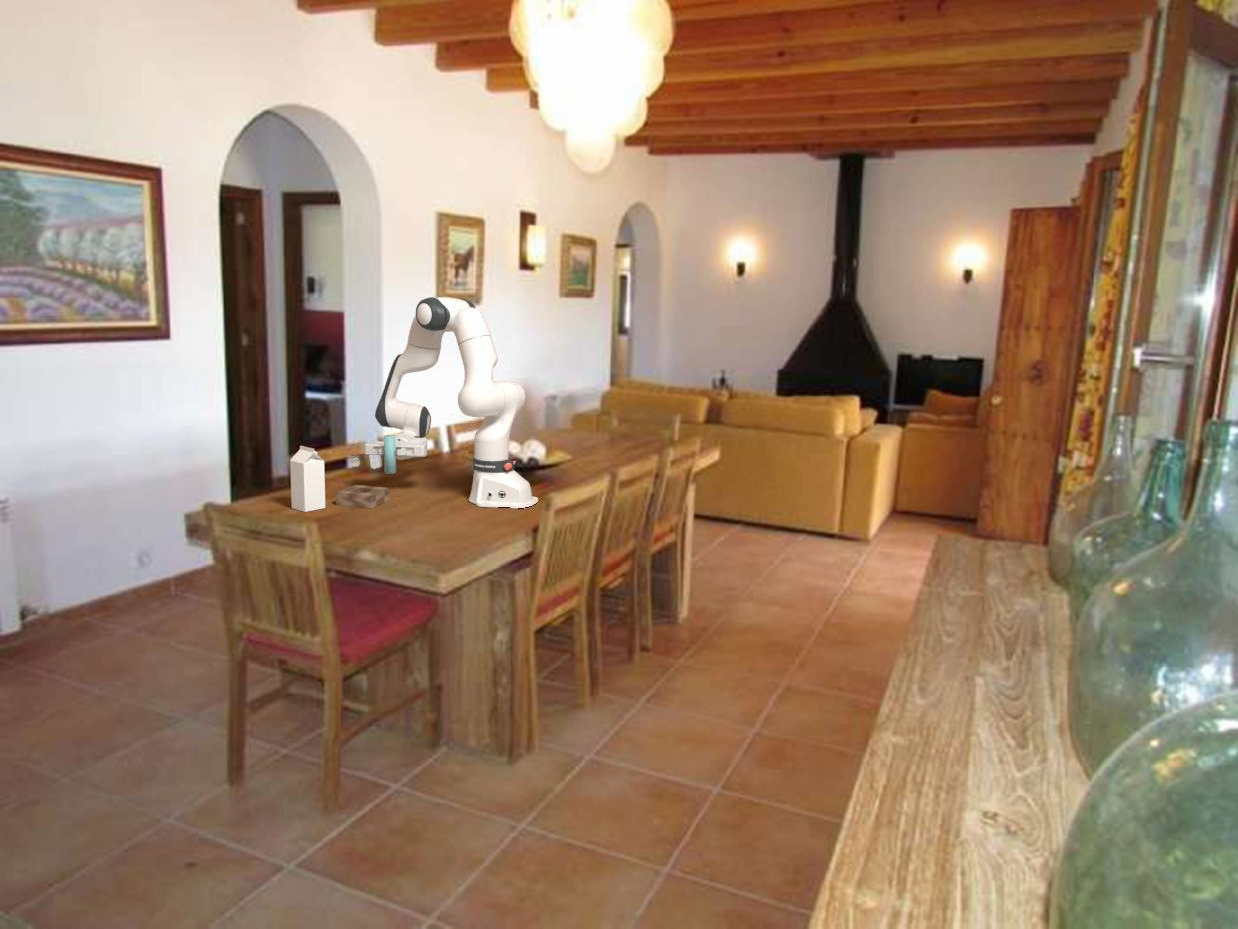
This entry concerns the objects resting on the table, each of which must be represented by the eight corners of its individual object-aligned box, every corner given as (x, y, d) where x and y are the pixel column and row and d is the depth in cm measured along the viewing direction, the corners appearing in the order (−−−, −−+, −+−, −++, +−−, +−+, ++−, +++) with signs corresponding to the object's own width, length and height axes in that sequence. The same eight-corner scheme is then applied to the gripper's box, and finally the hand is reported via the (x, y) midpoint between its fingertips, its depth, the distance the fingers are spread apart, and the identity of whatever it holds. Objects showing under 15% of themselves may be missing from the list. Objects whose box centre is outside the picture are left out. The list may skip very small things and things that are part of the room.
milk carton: (305, 512, 261) (303, 450, 258) (291, 508, 266) (289, 447, 262) (325, 508, 267) (324, 447, 263) (312, 504, 271) (310, 444, 268)
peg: (398, 472, 285) (397, 435, 282) (392, 474, 281) (392, 437, 279) (388, 471, 285) (387, 435, 283) (382, 473, 282) (381, 436, 280)
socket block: (389, 500, 281) (389, 488, 280) (370, 508, 269) (370, 496, 269) (355, 496, 283) (355, 484, 283) (335, 504, 272) (335, 492, 271)
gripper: (371, 435, 295) (357, 442, 281) (431, 437, 294) (419, 444, 280) (372, 454, 296) (357, 461, 282) (431, 456, 295) (420, 463, 281)
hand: (389, 452), depth 281 cm, fingers closed on peg, 4 cm apart
